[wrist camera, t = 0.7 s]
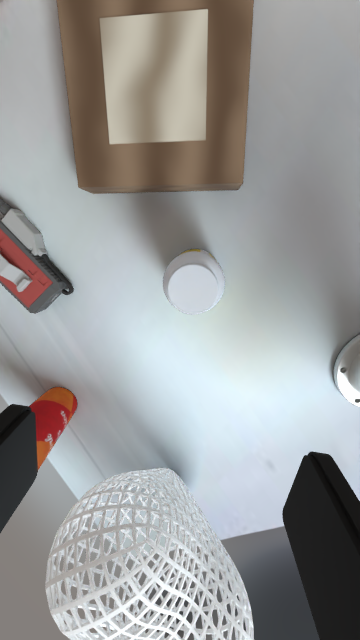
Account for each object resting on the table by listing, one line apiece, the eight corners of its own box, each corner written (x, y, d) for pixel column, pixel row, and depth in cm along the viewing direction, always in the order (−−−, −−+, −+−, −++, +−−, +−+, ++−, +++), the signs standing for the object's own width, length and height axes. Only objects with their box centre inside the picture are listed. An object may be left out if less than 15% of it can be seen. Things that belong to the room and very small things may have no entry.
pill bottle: (161, 275, 35) (142, 291, 24) (194, 237, 33) (189, 236, 22) (196, 306, 35) (193, 337, 24) (230, 272, 34) (243, 288, 23)
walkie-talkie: (88, 279, 36) (-25, 159, 32) (73, 284, 32) (-59, 147, 28) (49, 317, 38) (-60, 209, 35) (30, 327, 34) (-96, 205, 31)
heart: (252, 507, 46) (295, 736, 25) (184, 537, 50) (170, 758, 28) (155, 395, 40) (102, 566, 19) (86, 438, 44) (-20, 621, 23)
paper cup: (65, 428, 44) (5, 510, 31) (30, 399, 43) (-48, 471, 29) (93, 403, 42) (42, 479, 29) (57, 371, 41) (-14, 436, 27)
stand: (248, -12, 25) (257, -59, 21) (238, 189, 31) (243, 182, 27) (73, 4, 27) (51, -37, 23) (93, 193, 32) (77, 187, 28)
